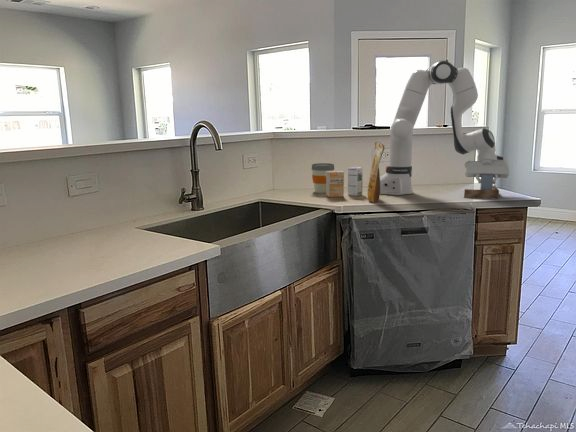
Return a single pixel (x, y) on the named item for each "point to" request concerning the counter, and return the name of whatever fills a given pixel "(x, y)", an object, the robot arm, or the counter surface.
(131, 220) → the counter surface
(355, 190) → the syrup box
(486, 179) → the slate block
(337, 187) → the supplement box
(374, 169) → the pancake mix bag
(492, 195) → the brown wooden tray
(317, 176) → the reusable coffee cup
